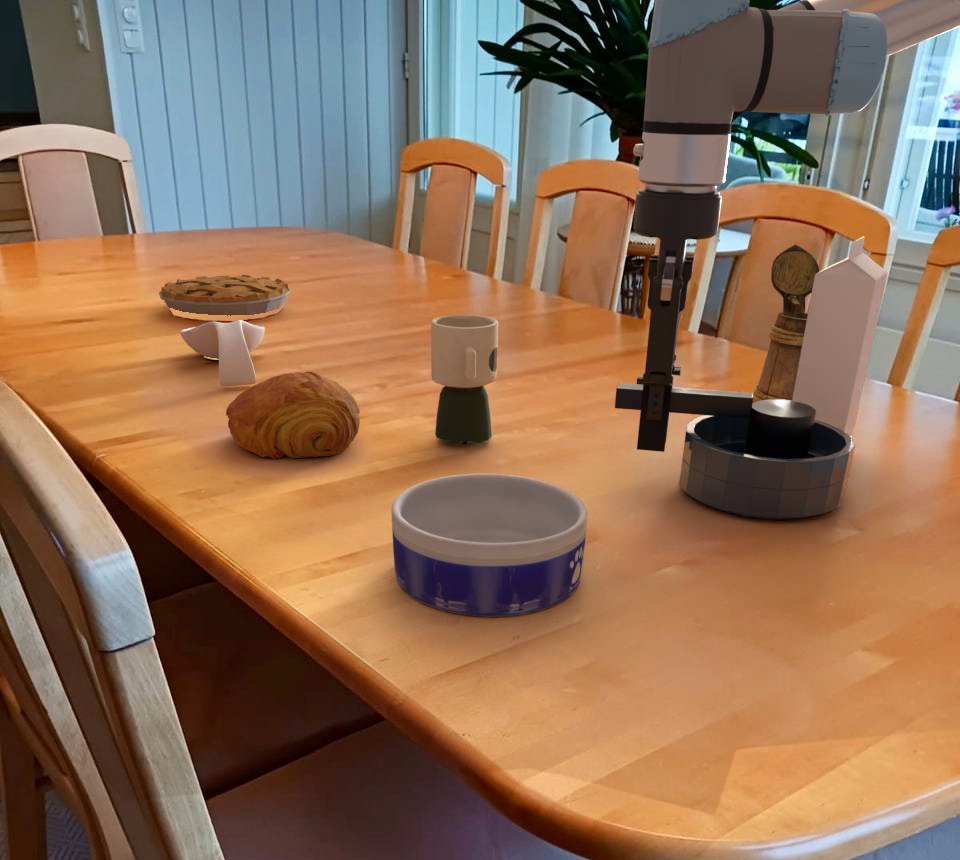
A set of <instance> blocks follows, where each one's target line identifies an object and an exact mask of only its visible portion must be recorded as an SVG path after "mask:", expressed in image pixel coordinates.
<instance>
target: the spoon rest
mask: <svg viewBox="0 0 960 860" xmlns="http://www.w3.org/2000/svg"><path fill="white" fill-rule="evenodd" d="M265 331H266V328H265V326H264V325H259V324H254V323H250V322H249V321H243V320H236V321H232V322H217V321H207V322H205V323H202V324H200V325H198V326H193V327H188V328H184V329H181V330H180V331H179V334H180V336H181V338H182V340H183V341H184V342H185V343H186V345H187V346H188V347H189V348H191V349H192V350H193V351H195V352H196V353H197V354H200V355H201V356H202V355H203V356H206V357H210V358H217V359H219V361H218V384H219V386H221V387H233V386H248V385H256V384H257V375H256V371H255V367H254V363H253V361H252V356H251V354H250V353H252V352H253V351H254V350H256V348H258V346H259V345H260V344H261V342H262V341H263V338H264V335H265ZM203 356H202V357H203Z"/></svg>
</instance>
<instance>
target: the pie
mask: <svg viewBox="0 0 960 860" xmlns="http://www.w3.org/2000/svg"><path fill="white" fill-rule="evenodd" d="M291 292H292V291H291V289H290V288H289V284H288V283H285V281H284V280H281V278H276V279H274V280H272V279H270V277H265V276H261V277H252V276H251V275H248V274H241V275H238V276H230V275H215V276H210V277H209V276H206V275H204V276H196V277H195V278H190V279H176V282H172V281H168V282H167V283H164V286H161V289H160V291H159V293H158V295H159V298H160V299H161V300H163V301H164V303H165V305H166V306H167V308H168V307H169V308H173V309H175V310H179V311H182V312H189V313H196V314H208V315H227V316H228V315H230V316H231V315H254V314H260V313H266V312H269V311H273V310H276V309H279V308H280V307H281V306H282V305H283V304H284V305H285V304H286V301H287V299H288V296H289V295H290V294H291ZM169 308H168V309H169Z"/></svg>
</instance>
